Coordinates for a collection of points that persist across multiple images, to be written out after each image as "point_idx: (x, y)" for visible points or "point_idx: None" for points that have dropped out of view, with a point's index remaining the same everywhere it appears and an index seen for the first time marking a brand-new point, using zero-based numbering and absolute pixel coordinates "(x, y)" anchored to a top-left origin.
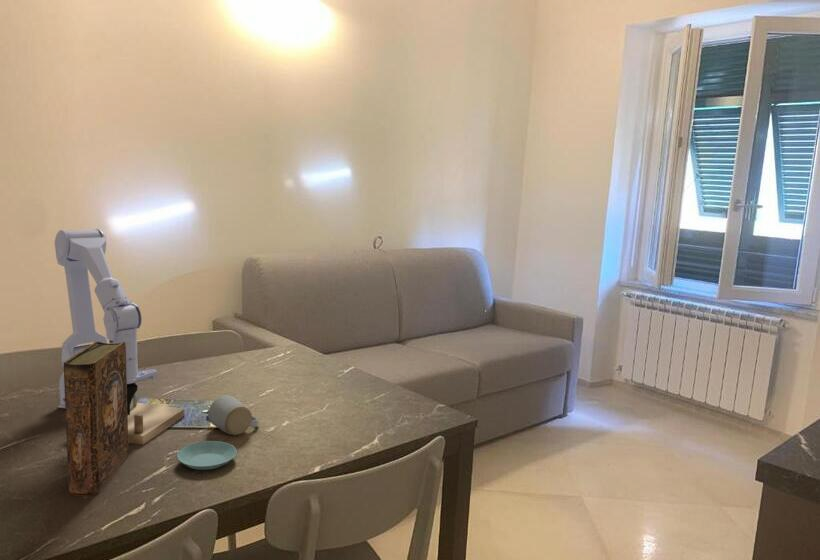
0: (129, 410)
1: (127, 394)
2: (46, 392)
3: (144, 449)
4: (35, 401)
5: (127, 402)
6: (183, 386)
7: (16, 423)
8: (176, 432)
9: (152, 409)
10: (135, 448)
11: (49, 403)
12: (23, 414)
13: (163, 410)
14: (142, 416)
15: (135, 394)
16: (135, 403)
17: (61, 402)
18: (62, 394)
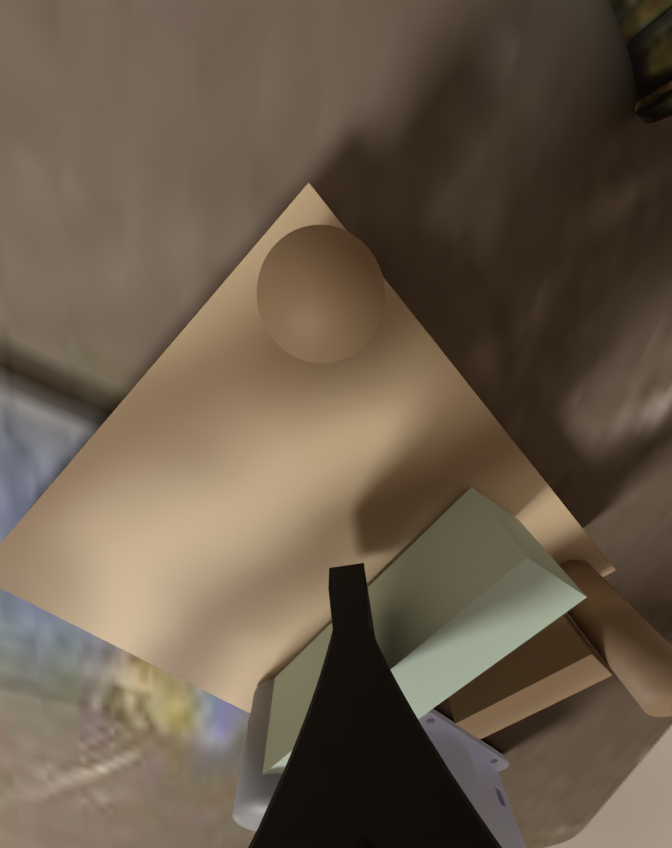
0: (334, 593)
1: (382, 811)
2: None
3: (322, 95)
4: (535, 800)
5: (358, 669)
6: (51, 789)
7: None
8: (65, 321)
9: (179, 625)
10: (376, 164)
11: (509, 783)
12: (610, 743)
13: (114, 593)
14: (271, 258)
15: (245, 778)
16: (259, 701)
17: (500, 781)
18: (516, 832)
